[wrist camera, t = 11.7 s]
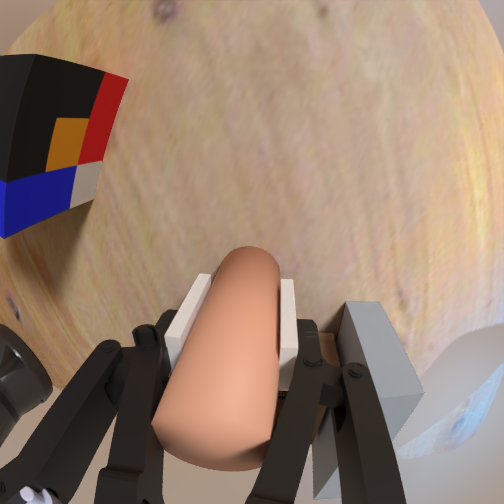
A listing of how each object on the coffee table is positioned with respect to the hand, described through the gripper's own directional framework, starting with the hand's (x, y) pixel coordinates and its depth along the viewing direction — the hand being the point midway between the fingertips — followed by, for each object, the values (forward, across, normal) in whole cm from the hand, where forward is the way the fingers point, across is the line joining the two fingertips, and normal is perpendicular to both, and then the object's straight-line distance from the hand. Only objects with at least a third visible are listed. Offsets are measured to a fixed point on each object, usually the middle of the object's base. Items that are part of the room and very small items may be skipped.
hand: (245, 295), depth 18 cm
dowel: (+3, 0, 0) cm, 3 cm away
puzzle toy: (+4, -16, +12) cm, 20 cm away
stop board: (+3, +9, -11) cm, 15 cm away
